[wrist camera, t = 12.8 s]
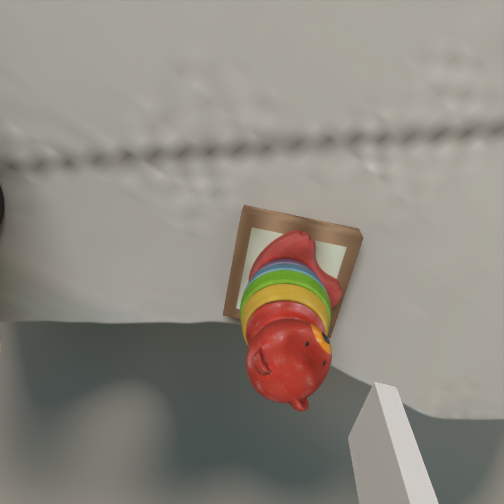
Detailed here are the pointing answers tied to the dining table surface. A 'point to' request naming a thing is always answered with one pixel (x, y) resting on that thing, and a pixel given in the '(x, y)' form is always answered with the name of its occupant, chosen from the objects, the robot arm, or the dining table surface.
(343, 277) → the picture frame
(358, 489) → the robot arm
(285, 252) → the stacking bear
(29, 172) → the dining table surface
